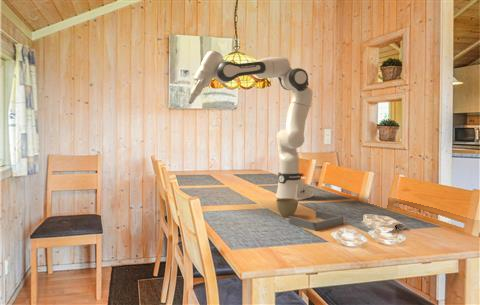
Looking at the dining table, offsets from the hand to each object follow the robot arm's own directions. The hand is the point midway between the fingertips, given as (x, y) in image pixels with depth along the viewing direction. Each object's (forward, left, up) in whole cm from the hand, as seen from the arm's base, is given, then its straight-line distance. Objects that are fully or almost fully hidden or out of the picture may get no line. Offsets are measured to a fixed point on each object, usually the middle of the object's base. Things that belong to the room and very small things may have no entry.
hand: (190, 102), depth 201 cm
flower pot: (-18, +53, -52) cm, 77 cm away
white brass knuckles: (-36, +89, -53) cm, 110 cm away
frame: (-18, +70, -52) cm, 89 cm away
